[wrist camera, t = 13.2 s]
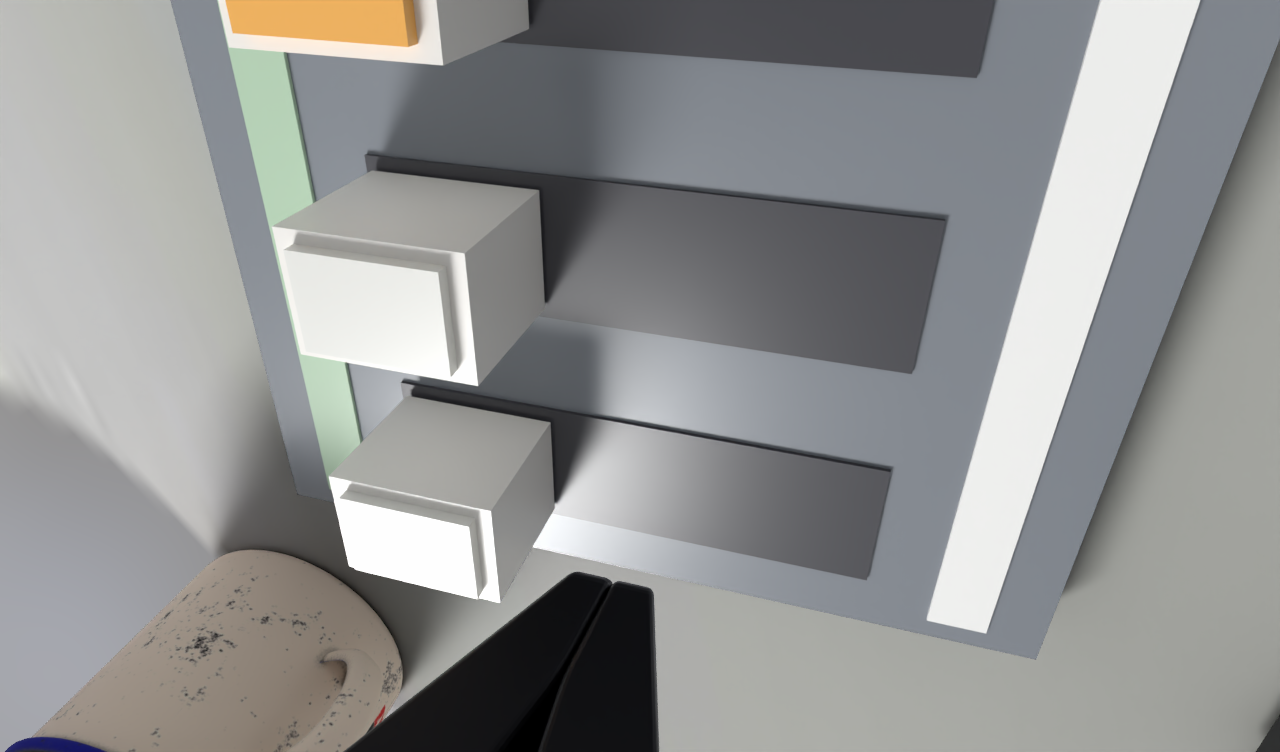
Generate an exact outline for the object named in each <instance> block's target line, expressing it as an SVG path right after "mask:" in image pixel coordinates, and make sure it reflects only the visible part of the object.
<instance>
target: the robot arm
mask: <svg viewBox="0 0 1280 752" xmlns="http://www.w3.org/2000/svg"><path fill="white" fill-rule="evenodd" d="M343 752H659V731H658V702H657V673H656V644H655V614H654V594H653V591H652V590H651V589H650V588H648V587H644V586H639V585H635V584H631V583H626V582H622V581H617V582H615V583H614V584H612V582H611V581H610V580H609V579H607V578H604V577H600V576H595V575H591V574H587V573H582V572H574V573H571V574H569V575H568V576H566V577H565V578H564V579H562V580H561V581H560V582H559V583H557V584H556V585H555V586H554V587H552V588H551V589H550V590H548V591H547V592H546V593H545V594H543V595H542V596H541V597H540V598H538V599H537V600H536V601H534V602H533V603H532V604H531V605H529V606H528V607H527V608H526V609H524V610H523V611H522V612H520V613H519V614H518V615H517V616H515V617H514V618H513V619H512V620H510V621H509V622H508V623H506V624H505V625H504V626H503V627H501V628H500V629H499V630H497V631H496V632H495V633H494V634H492V635H491V636H490V637H489V638H487V639H486V640H485V641H483V642H482V643H481V644H480V645H478V646H477V647H476V648H475V649H473V650H472V651H471V652H469V653H468V654H467V655H466V656H464V657H463V658H462V659H461V660H459V661H458V662H457V663H455V664H454V665H453V666H452V667H450V668H449V669H448V670H447V671H445V672H444V673H443V674H441V675H440V676H439V677H438V678H436V679H435V680H434V681H433V682H431V683H430V684H429V685H427V686H426V687H425V688H424V689H422V690H421V691H420V692H419V693H417V694H416V695H415V696H413V697H412V698H411V699H410V700H408V701H407V702H406V703H404V704H403V705H402V706H401V707H399V708H398V709H397V710H396V711H394V712H393V713H392V714H390V715H389V716H388V717H387V718H385V719H384V720H383V721H382V722H380V723H379V724H378V725H376V726H375V727H374V728H373V729H371V730H370V731H369V732H368V733H366V734H365V735H364V736H362V737H361V738H360V739H359V740H357V741H356V742H355V743H354V744H352V745H351V746H350V747H348V748H347V749H346V750H345V751H343ZM1256 752H1280V716H1279V717H1278V719H1277V720H1276V722H1275V723H1274V725H1273V726H1272V728H1271V730H1270V731H1269V733H1268V734H1267V736H1266V737H1265V739H1264V740H1263V742H1262V743H1261V745H1260V746H1259V748H1258V749H1257V751H1256Z"/></svg>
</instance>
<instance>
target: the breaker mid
mask: <svg viewBox="0 0 1280 752" xmlns="http://www.w3.org/2000/svg"><path fill="white" fill-rule="evenodd" d="M272 230H273V234H274V239H275V243H276V248H277V252H278V256H279V261H280V265H281V270H282V274H283V278H284V283H285V287H286V292H287V296H288V300H289V305H290V309H291V313H292V318H293V322H294V327H295V331H296V335H297V340H298V344H299V349H300V353H301V354H302V355H307V356H313V357H318V358H324V359H330V360H335V361H341V362H346V363H352V364H358V365H363V366H369V367H374V368H380V369H385V370H391V371H397V372H402V373H408V374H413V375H419V376H425V377H430V378H436V379H441V380H447V381H453V382H458V383H464V384H469V385H475V386H479V384H480V383H481V382H482V381H483V380H484V379H485V377H486V376H487V375H488V374H489V373H490V372H491V370H492V369H493V368H494V367H495V366H496V365H497V363H498V362H499V361H500V360H501V359H502V358H503V356H504V355H505V354H506V353H507V352H508V351H509V349H510V348H511V347H512V346H513V345H514V344H515V342H516V341H517V340H518V339H519V338H520V337H521V335H522V334H523V333H524V332H525V331H526V330H527V328H528V327H529V326H530V325H531V324H532V323H533V321H534V320H535V319H536V318H537V317H538V316H539V314H540V313H541V312H542V311H543V310H544V309H545V300H544V279H543V259H542V239H541V218H540V198H539V190H533V189H525V188H516V187H508V186H499V185H491V184H482V183H474V182H465V181H457V180H448V179H440V178H432V177H423V176H415V175H406V174H398V173H389V172H381V171H370V172H368V173H367V174H365V175H363V176H361V177H359V178H358V179H356V180H354V181H352V182H350V183H349V184H347V185H345V186H343V187H341V188H340V189H338V190H336V191H334V192H332V193H331V194H329V195H327V196H325V197H324V198H322V199H320V200H318V201H316V202H315V203H313V204H311V205H309V206H307V207H306V208H304V209H302V210H300V211H298V212H297V213H295V214H293V215H291V216H289V217H288V218H286V219H284V220H282V221H281V222H279V223H277V224H275V225H273V226H272Z"/></svg>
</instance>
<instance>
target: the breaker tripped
mask: <svg viewBox="0 0 1280 752" xmlns="http://www.w3.org/2000/svg"><path fill="white" fill-rule="evenodd" d="M218 2H219V7H220V11H221V15H222V20H223V24H224V28H225V33H226V37H227V42H228V46H229V48H240V49H252V50H264V51H276V52H288V53H300V54H312V55H324V56H336V57H348V58H360V59H372V60H384V61H395V62H407V63H419V64H431V65H446V64H448V63H450V62H453V61H455V60H457V59H460V58H462V57H464V56H467V55H469V54H471V53H474V52H476V51H479V50H481V49H483V48H486V47H488V46H490V45H493V44H495V43H497V42H500V41H502V40H505V39H507V38H509V37H512V36H514V35H516V34H519V33H521V32H523V31H526V30H528V29H529V14H528V0H218Z"/></svg>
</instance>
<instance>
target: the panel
mask: <svg viewBox="0 0 1280 752" xmlns="http://www.w3.org/2000/svg"><path fill="white" fill-rule="evenodd" d="M171 4H172V8H173V11H174V15H175V19H176V23H177V27H178V31H179V35H180V39H181V43H182V47H183V50H184V54H185V58H186V62H187V66H188V70H189V74H190V78H191V82H192V86H193V89H194V93H195V97H196V101H197V105H198V109H199V113H200V117H201V121H202V125H203V128H204V132H205V136H206V140H207V144H208V148H209V152H210V156H211V160H212V163H213V167H214V171H215V175H216V179H217V183H218V187H219V191H220V195H221V199H222V202H223V206H224V210H225V214H226V218H227V222H228V226H229V230H230V234H231V238H232V241H233V245H234V249H235V253H236V257H237V261H238V265H239V269H240V273H241V277H242V280H243V284H244V288H245V292H246V296H247V300H248V304H249V308H250V312H251V316H252V319H253V323H254V327H255V331H256V335H257V339H258V343H259V347H260V351H261V355H262V358H263V362H264V366H265V370H266V374H267V378H268V382H269V386H270V390H271V393H272V397H273V401H274V405H275V409H276V413H277V417H278V421H279V425H280V429H281V432H282V436H283V440H284V444H285V448H286V452H287V456H288V460H289V464H290V468H291V471H292V475H293V479H294V483H295V487H296V491H297V494H298V495H302V496H307V497H311V498H316V499H320V500H325V501H329V502H333V503H335V502H334V498H333V493H332V489H331V485H330V480H329V475H330V474H331V473H332V472H333V471H334V470H335V469H336V468H337V467H338V466H339V465H340V464H341V463H342V462H343V461H344V460H345V459H346V458H347V457H348V456H349V455H350V454H351V453H352V452H353V451H354V450H355V449H356V448H357V447H358V446H359V445H360V444H361V442H362V441H363V440H364V439H365V438H366V437H367V436H368V435H369V434H370V433H371V432H372V431H373V430H374V429H375V428H376V427H377V426H378V425H379V424H380V423H381V422H382V421H383V420H384V419H385V418H386V417H387V416H388V415H389V414H390V413H391V412H392V411H393V410H394V409H395V408H396V407H397V406H398V404H399V403H400V402H401V401H402V400H403V399H404V398H405V397H406V396H411V397H417V398H422V399H427V400H433V401H438V402H443V403H449V404H454V405H460V406H465V407H470V408H476V409H481V410H486V411H492V412H497V413H503V414H508V415H513V416H519V417H524V418H530V419H535V420H540V421H546V422H551V442H552V463H553V483H554V504H555V509H554V511H553V512H552V514H551V516H550V517H549V519H548V521H547V523H546V524H545V526H544V528H543V530H542V531H541V533H540V535H539V537H538V538H537V540H536V542H535V543H534V545H533V547H535V548H539V549H544V550H548V551H553V552H557V553H562V554H566V555H570V556H575V557H579V558H584V559H588V560H593V561H597V562H602V563H606V564H611V565H615V566H620V567H624V568H629V569H633V570H638V571H642V572H646V573H651V574H655V575H660V576H664V577H669V578H673V579H678V580H682V581H687V582H691V583H696V584H700V585H705V586H709V587H714V588H718V589H722V590H727V591H731V592H736V593H740V594H745V595H749V596H754V597H758V598H763V599H767V600H772V601H776V602H781V603H785V604H790V605H794V606H799V607H803V608H807V609H812V610H816V611H821V612H825V613H830V614H834V615H839V616H843V617H848V618H852V619H857V620H861V621H866V622H870V623H875V624H879V625H883V626H888V627H892V628H897V629H901V630H906V631H910V632H915V633H919V634H924V635H928V636H933V637H937V638H942V639H946V640H951V641H955V642H959V643H964V644H968V645H973V646H977V647H982V648H986V649H991V650H995V651H1000V652H1004V653H1009V654H1013V655H1018V656H1022V657H1027V658H1031V659H1035V660H1036V658H1037V656H1038V653H1039V650H1040V648H1041V645H1042V643H1043V640H1044V638H1045V635H1046V633H1047V630H1048V628H1049V625H1050V622H1051V620H1052V617H1053V615H1054V612H1055V610H1056V607H1057V605H1058V602H1059V600H1060V597H1061V594H1062V592H1063V589H1064V587H1065V584H1066V582H1067V579H1068V577H1069V574H1070V572H1071V569H1072V566H1073V564H1074V561H1075V559H1076V556H1077V554H1078V551H1079V549H1080V546H1081V544H1082V541H1083V538H1084V536H1085V533H1086V531H1087V528H1088V526H1089V523H1090V521H1091V518H1092V516H1093V513H1094V510H1095V508H1096V505H1097V503H1098V500H1099V498H1100V495H1101V493H1102V490H1103V488H1104V485H1105V482H1106V480H1107V477H1108V475H1109V472H1110V470H1111V467H1112V465H1113V462H1114V460H1115V457H1116V455H1117V452H1118V449H1119V447H1120V444H1121V442H1122V439H1123V437H1124V434H1125V432H1126V429H1127V427H1128V424H1129V421H1130V419H1131V416H1132V414H1133V411H1134V409H1135V406H1136V404H1137V401H1138V399H1139V396H1140V393H1141V391H1142V388H1143V386H1144V383H1145V381H1146V378H1147V376H1148V373H1149V371H1150V368H1151V365H1152V363H1153V360H1154V358H1155V355H1156V353H1157V350H1158V348H1159V345H1160V343H1161V340H1162V337H1163V335H1164V332H1165V330H1166V327H1167V325H1168V322H1169V320H1170V317H1171V315H1172V312H1173V309H1174V307H1175V304H1176V302H1177V299H1178V297H1179V294H1180V292H1181V289H1182V287H1183V284H1184V281H1185V279H1186V276H1187V274H1188V271H1189V269H1190V266H1191V264H1192V261H1193V259H1194V256H1195V253H1196V251H1197V248H1198V246H1199V243H1200V241H1201V238H1202V236H1203V233H1204V231H1205V228H1206V225H1207V223H1208V220H1209V218H1210V215H1211V213H1212V210H1213V208H1214V205H1215V203H1216V200H1217V197H1218V195H1219V192H1220V190H1221V187H1222V185H1223V182H1224V180H1225V177H1226V175H1227V172H1228V169H1229V167H1230V164H1231V162H1232V159H1233V157H1234V154H1235V152H1236V149H1237V147H1238V144H1239V141H1240V139H1241V136H1242V134H1243V131H1244V129H1245V126H1246V124H1247V121H1248V119H1249V116H1250V113H1251V111H1252V108H1253V106H1254V103H1255V101H1256V98H1257V96H1258V93H1259V91H1260V88H1261V85H1262V83H1263V80H1264V78H1265V75H1266V73H1267V70H1268V68H1269V65H1270V63H1271V60H1272V58H1273V55H1274V52H1275V50H1276V47H1277V45H1278V42H1279V40H1280V0H528V14H529V29H528V30H526V31H523V32H521V33H519V34H516V35H514V36H512V37H509V38H507V39H505V40H502V41H500V42H497V43H495V44H493V45H490V46H488V47H486V48H483V49H481V50H479V51H476V52H474V53H471V54H469V55H467V56H464V57H462V58H460V59H457V60H455V61H453V62H450V63H448V64H446V65H431V64H419V63H407V62H395V61H384V60H372V59H360V58H348V57H336V56H324V55H312V54H300V53H288V52H276V51H264V50H252V49H240V48H229V46H228V42H227V37H226V33H225V28H224V24H223V20H222V15H221V11H220V7H219V2H218V0H171ZM370 171H381V172H389V173H398V174H406V175H415V176H423V177H432V178H440V179H448V180H457V181H465V182H474V183H482V184H491V185H499V186H508V187H516V188H525V189H533V190H539V198H540V218H541V239H542V259H543V279H544V300H545V309H544V310H543V311H542V312H541V313H540V314H539V316H538V317H537V318H536V319H535V320H534V321H533V323H532V324H531V325H530V326H529V327H528V328H527V330H526V331H525V332H524V333H523V334H522V335H521V337H520V338H519V339H518V340H517V341H516V342H515V344H514V345H513V346H512V347H511V348H510V349H509V351H508V352H507V353H506V354H505V355H504V356H503V358H502V359H501V360H500V361H499V362H498V363H497V365H496V366H495V367H494V368H493V369H492V370H491V372H490V373H489V374H488V375H487V376H486V377H485V379H484V380H483V381H482V382H481V383H480V384H479V386H475V385H469V384H464V383H458V382H453V381H447V380H441V379H436V378H430V377H425V376H419V375H413V374H408V373H402V372H397V371H391V370H385V369H380V368H374V367H369V366H363V365H358V364H352V363H346V362H341V361H335V360H330V359H324V358H318V357H313V356H307V355H302V354H301V353H300V349H299V344H298V340H297V335H296V331H295V327H294V322H293V318H292V313H291V309H290V305H289V300H288V296H287V292H286V287H285V283H284V278H283V274H282V270H281V265H280V261H279V256H278V252H277V248H276V243H275V239H274V234H273V230H272V226H273V225H275V224H277V223H279V222H281V221H282V220H284V219H286V218H288V217H289V216H291V215H293V214H295V213H297V212H298V211H300V210H302V209H304V208H306V207H307V206H309V205H311V204H313V203H315V202H316V201H318V200H320V199H322V198H324V197H325V196H327V195H329V194H331V193H332V192H334V191H336V190H338V189H340V188H341V187H343V186H345V185H347V184H349V183H350V182H352V181H354V180H356V179H358V178H359V177H361V176H363V175H365V174H367V173H368V172H370Z"/></svg>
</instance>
